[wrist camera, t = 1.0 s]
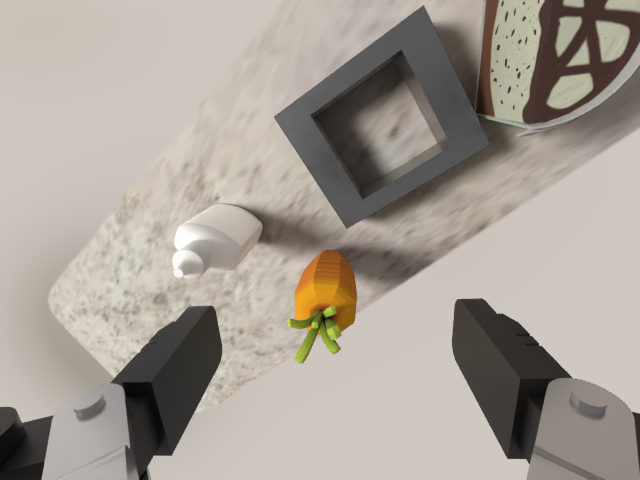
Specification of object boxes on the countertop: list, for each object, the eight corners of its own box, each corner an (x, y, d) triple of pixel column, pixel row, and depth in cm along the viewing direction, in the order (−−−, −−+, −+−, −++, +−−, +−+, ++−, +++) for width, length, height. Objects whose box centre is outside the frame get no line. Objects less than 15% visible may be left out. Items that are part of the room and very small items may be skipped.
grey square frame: (412, 22, 25) (423, 5, 22) (471, 141, 28) (490, 144, 24) (283, 117, 29) (273, 116, 25) (347, 216, 31) (346, 228, 28)
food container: (545, 128, 27) (648, 130, 18) (471, 133, 28) (533, 138, 19) (574, -50, 23) (728, -168, 14) (486, -39, 24) (575, -145, 14)
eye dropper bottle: (233, 188, 32) (169, 223, 20) (270, 230, 33) (228, 286, 22) (203, 213, 33) (127, 260, 22) (240, 253, 34) (186, 317, 23)
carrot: (318, 281, 34) (297, 389, 20) (301, 240, 33) (265, 327, 19) (362, 267, 33) (371, 372, 19) (346, 225, 32) (344, 305, 18)
